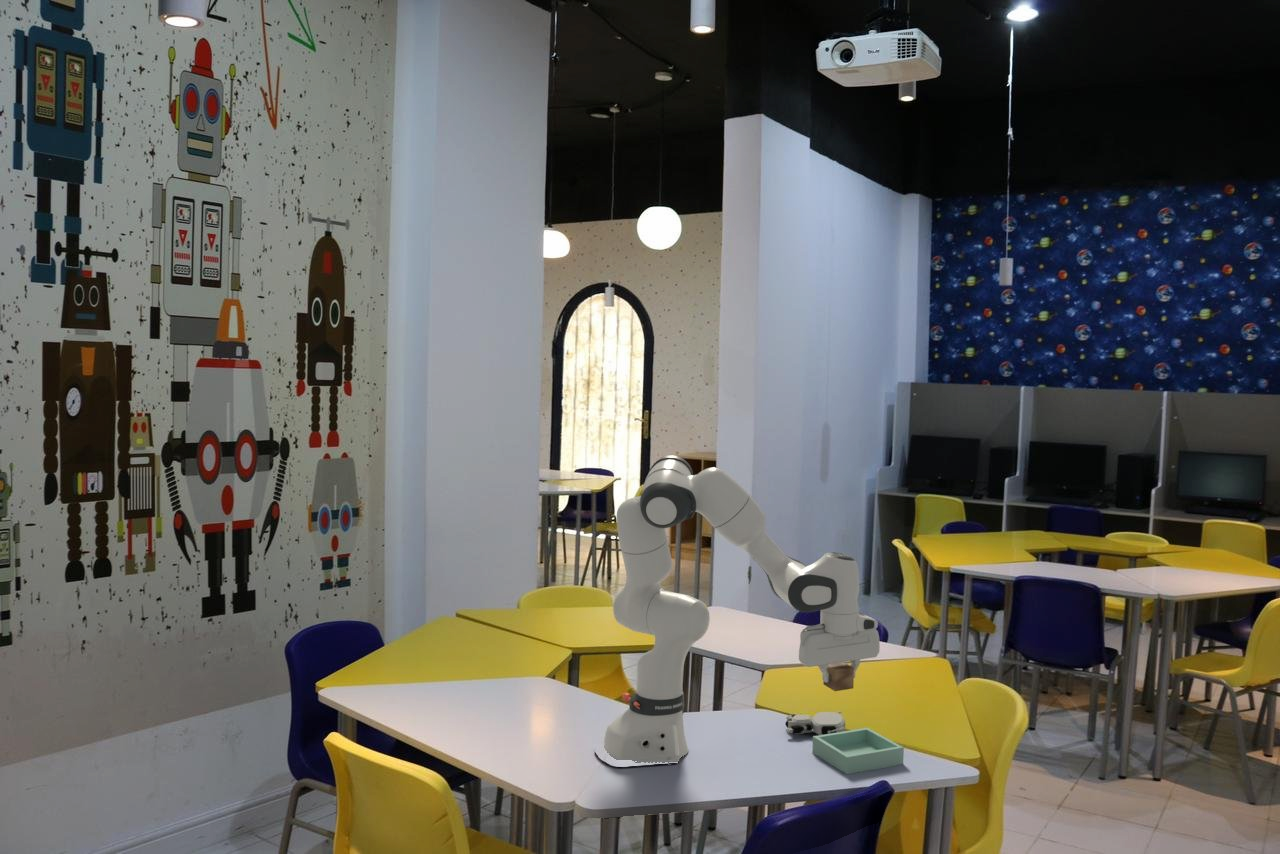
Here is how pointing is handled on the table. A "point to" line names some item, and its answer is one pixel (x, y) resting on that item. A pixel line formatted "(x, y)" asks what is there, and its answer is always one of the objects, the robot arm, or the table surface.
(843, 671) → the block
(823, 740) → the tray
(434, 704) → the table surface
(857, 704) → the table surface
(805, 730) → the robot toy
